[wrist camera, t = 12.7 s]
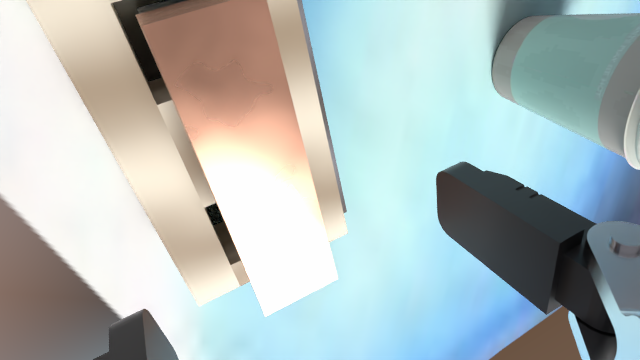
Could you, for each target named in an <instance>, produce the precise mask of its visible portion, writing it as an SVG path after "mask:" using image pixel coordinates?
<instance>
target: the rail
mask: <svg viewBox="0 0 640 360" xmlns="http://www.w3.org/2000/svg"><path fill="white" fill-rule="evenodd" d="M26 1H27V3H28V5H29V6H30V8H31V10H32V12H33V14H34V15H35V17H36V19H37V21H38V22H39V24H40V26H41V28H42V30H43V31H44V33H45V35H46V37H47V38H48V40H49V42H50V44H51V45H52V47H53V49H54V51H55V53H56V54H57V56H58V58H59V60H60V61H61V63H62V65H63V67H64V68H65V70H66V72H67V74H68V76H69V77H70V79H71V81H72V83H73V84H74V86H75V88H76V90H77V91H78V93H79V95H80V97H81V99H82V100H83V102H84V104H85V106H86V107H87V109H88V111H89V113H90V115H91V116H92V118H93V120H94V122H95V123H96V125H97V127H98V129H99V130H100V132H101V134H102V136H103V138H104V139H105V141H106V143H107V145H108V146H109V148H110V150H111V152H112V153H113V155H114V157H115V159H116V161H117V162H118V164H119V166H120V168H121V169H122V171H123V173H124V175H125V177H126V178H127V180H128V182H129V184H130V185H131V187H132V189H133V191H134V192H135V194H136V196H137V198H138V200H139V201H140V203H141V205H142V207H143V208H144V210H145V212H146V214H147V215H148V217H149V219H150V221H151V223H152V224H153V226H154V228H155V230H156V231H157V233H158V235H159V237H160V238H161V240H162V242H163V244H164V246H165V247H166V249H167V251H168V253H169V254H170V256H171V258H172V260H173V262H174V263H175V265H176V267H177V269H178V270H179V272H180V274H181V276H182V277H183V279H184V281H185V283H186V285H187V286H188V288H189V290H190V292H191V293H192V295H193V297H194V299H195V300H196V302H197V304H198V306H201V305H203V304H205V303H207V302H209V301H211V300H213V299H215V298H217V297H219V296H221V295H223V294H225V293H227V292H229V291H231V290H234V289H236V288H238V287H240V286H242V285H244V284H246V283H248V282H250V280H249V278H248V276H247V273H246V271H245V269H244V267H243V264H242V262H241V260H240V257H239V255H238V253H237V250H236V248H235V246H234V243H233V241H232V239H231V236H230V234H229V232H228V229H227V227H226V225H225V222H224V221H223V222H220V223H218V224H216V225H214V224H213V222H212V220H211V218H210V216H209V213H208V211H207V209H206V207H208V206H210V205H212V204H215V203H216V201H215V199H214V197H213V194H212V192H211V190H210V188H209V185H208V183H207V181H206V178H205V176H204V174H203V171H202V169H201V167H200V164H199V162H198V160H197V157H196V155H195V153H194V150H193V148H192V146H191V143H190V141H189V139H188V136H187V134H186V132H185V129H184V127H183V125H182V122H181V120H180V118H179V115H178V113H177V111H176V108H175V106H174V104H173V101H172V99H171V97H170V95H169V92H168V90H167V88H166V85H165V83H164V81H163V78H162V77H161V78H158V79H155V80H152V81H149V82H148V80H147V77H146V75H145V73H144V71H143V69H142V66H141V64H140V62H139V60H138V58H137V56H136V53H135V51H134V49H133V47H132V45H131V42H130V40H129V38H128V36H127V34H126V31H125V29H124V27H123V25H122V23H121V20H120V18H119V16H118V14H117V12H116V9H115V7H114V5H113V3H114V2H118V1H121V0H26ZM267 3H268V7H269V11H270V15H271V19H272V22H273V26H274V30H275V34H276V38H277V42H278V46H279V50H280V54H281V58H282V62H283V66H284V70H285V73H286V77H287V81H288V85H289V89H290V93H291V97H292V101H293V105H294V109H295V113H296V117H297V121H298V124H299V128H300V132H301V136H302V140H303V144H304V148H305V152H306V156H307V160H308V164H309V168H310V172H311V175H312V179H313V183H314V187H315V191H316V195H317V199H318V203H319V207H320V211H321V215H322V219H323V223H324V226H325V230H326V234H327V238H328V242H331V241H333V240H335V239H337V238H339V237H341V236H343V235H345V234H347V233H348V231H347V226H346V222H345V217H344V213H345V212H347V211H346V206H345V201H344V197H343V192H342V187H341V183H340V178H339V173H338V169H337V164H336V159H335V154H334V150H333V145H332V140H331V136H330V131H329V126H328V122H327V117H326V112H325V108H324V103H323V98H322V94H321V89H320V84H319V80H318V75H317V70H316V66H315V61H314V56H313V51H312V47H311V42H310V37H309V33H308V28H307V23H306V19H305V14H304V9H303V5H302V0H267Z"/></svg>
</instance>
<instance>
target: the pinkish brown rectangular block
mask: <svg viewBox="0 0 640 360" xmlns="http://www.w3.org/2000/svg"><path fill="white" fill-rule="evenodd" d="M137 10H138V12H139V14H137V15H136V18H137V20H138V22H139V25H140V27H141V29H142V32H143V34H144V36H145V39H146V41H147V43H148V46H149V48H150V50H151V53H152V55H153V57H154V60H155V62H156V64H157V67H158V69H159V71H160V74H161V76H162V78H163V81H164V83H165V85H166V88H167V90H168V92H169V95H170V97H171V99H172V101H173V104H174V106H175V108H176V111H177V113H178V115H179V118H180V120H181V122H182V125H183V127H184V129H185V132H186V134H187V136H188V139H189V141H190V143H191V146H192V148H193V150H194V153H195V155H196V157H197V160H198V162H199V164H200V167H201V169H202V171H203V174H204V176H205V178H206V181H207V183H208V185H209V188H210V190H211V192H212V194H213V197H214V199H215V201H216V204H217V206H218V208H219V211H220V213H221V215H222V218H223V220H224V222H225V225H226V227H227V229H228V232H229V234H230V236H231V239H232V241H233V243H234V246H235V248H236V250H237V253H238V255H239V257H240V260H241V262H242V264H243V267H244V269H245V271H246V273H247V276H248V278H249V280H250V282H251V284H252V287H253V289H254V291H255V293H256V295H257V298H258V300H259V302H260V304H261V306H262V309H263V311H264V313H265V315H266V316H267V315H269V314H270V313H272V312H274V311H276V310H278V309H280V308H282V307H284V306H286V305H288V304H290V303H292V302H294V301H296V300H297V299H299V298H301V297H303V296H305V295H307V294H309V293H311V292H313V291H315V290H317V289H319V288H321V287H322V286H324V285H326V284H328V283H330V282H332V281H334V280H336V279H338V277H337V274H336V270H335V266H334V262H333V258H332V254H331V250H330V246H329V242H328V238H327V234H326V230H325V226H324V223H323V219H322V215H321V211H320V207H319V203H318V199H317V195H316V191H315V187H314V183H313V179H312V175H311V172H310V168H309V164H308V160H307V156H306V152H305V148H304V144H303V140H302V136H301V132H300V128H299V124H298V121H297V117H296V113H295V109H294V105H293V101H292V97H291V93H290V89H289V85H288V81H287V77H286V73H285V70H284V66H283V62H282V58H281V54H280V50H279V46H278V42H277V38H276V34H275V30H274V26H273V22H272V19H271V15H270V11H269V7H268V3H267V0H165V1H161V2H157V3H154V4H150V5H146V6H143V7H139V8H137Z"/></svg>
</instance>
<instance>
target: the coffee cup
mask: <svg viewBox="0 0 640 360" xmlns="http://www.w3.org/2000/svg"><path fill="white" fill-rule="evenodd" d="M492 78H493V84H494V87H495V89H496V91H497V92H498V93H499V94H500V95H501V96H502V97H504V98H506V99H508V100H510V101H512V102H514V103H516V104H518V105H520V106H522V107H524V108H526V109H528V110H530V111H532V112H534V113H536V114H538V115H540V116H542V117H544V118H546V119H548V120H550V121H552V122H554V123H556V124H558V125H560V126H562V127H564V128H566V129H568V130H570V131H572V132H574V133H576V134H578V135H580V136H582V137H584V138H586V139H588V140H590V141H592V142H594V143H596V144H598V145H600V146H602V147H604V148H606V149H608V150H610V151H612V152H615V153H617V154H619V155H621V156H623V157H625V158H626V159H627V161H628V163H629V164H630V165H631V166H632V167H633V168H635V169H639V170H640V13H631V14H584V15H545V16H529V17H526V18H524V19H522V20H520V21H519V22H518V23H516V24H515V25H514V26H513V27H512V28H511V29H510V30H509V31H508V32H507V34H506V35H505V36H504V38H503V39H502V41H501V43H500V45H499V47H498V49H497V52H496V54H495V58H494V62H493V68H492Z"/></svg>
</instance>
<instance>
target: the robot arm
mask: <svg viewBox="0 0 640 360" xmlns="http://www.w3.org/2000/svg"><path fill="white" fill-rule="evenodd" d="M436 186H437V211H438V219H439V222H440V224H441V226H442V228H443V230H444V231H445V232H446V233H447V235H449V236H450V237H451V238H452V239H453V240H455V241H456V242H457V243H458V244H460V245H461V246H462V247H463V248H465V249H466V250H467V251H468V252H470V253H471V254H472V255H473V256H474V257H476V258H477V259H478V260H479V261H481V262H482V263H483V264H484V265H486V266H487V267H488V268H489V269H491V270H492V271H493V272H494V273H495V274H497V275H498V276H499V277H500V278H502V279H503V280H504V281H505V282H507V283H508V284H509V285H510V286H512V287H513V288H514V289H515V290H516V291H518V292H519V293H520V294H521V295H523V296H524V297H525V298H526V299H528V300H529V301H530V302H531V303H533V304H534V305H535V306H536V307H537V308H539V309H540V310H541V311H542V312H544V313H545V314H546V315H547V314H548V313H550V312H551V311H553V310H555V309H556V308H558V307H559V306H561V305H563V306H564V307H565V308H567V309H568V310H569V314H568V318H569V322H570V325H571V328H572V331H573V334H574V337H575V340H576V343H577V346H578V349H579V352H580V355H581V358H582V360H640V226H639V225H636V224H633V223H628V222H621V221H607V222H602V223H599V224H596V223H594V222H592V221H590V220H588V219H586V218H584V217H582V216H581V215H579V214H577V213H575V212H573V211H571V210H569V209H568V208H566V207H564V206H562V205H560V204H558V203H557V202H555V201H553V200H551V199H549V198H547V197H545V196H544V195H542V194H541V195H539V194H538V192H536V191H534V190H533V189H531V188H529V187H524V185H523V184H521V183H520V182H518V181H516V180H514V179H512V178H510V177H509V176H506V175H502V174H498V173H494V172H491V171H487V170H486V171H484V172H483V171H482V170H480V169H478V168H476V167H475V166H473V165H471V164H469V163H467V162H460V163H458V164H456V165H454V166H451V167H449V168H447V169H445V170H443V171H441V172H439V173H438V174H437V177H436ZM93 360H179V359H178V357H177V355H176V352H175V350H174V349H173V347H172V345H171V344H170V342H169V341H168V339H167V338H166V336H165V335H164V333H163V332H162V330H161V329H160V327H159V326H158V324H157V323H156V321H155V320H154V318H153V317H152V315H151V314H150V313H149V311H148V310H146V309H143V310H141V311H139V312H136V313H134V314H132V315H130V316H128V317H126V318H124V319H121V320H119V321H117V322H115V323H113V324H111V325H110V328H109V352H108V353H105V354H103V355H101V356H99V357H97V358H95V359H93Z"/></svg>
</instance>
